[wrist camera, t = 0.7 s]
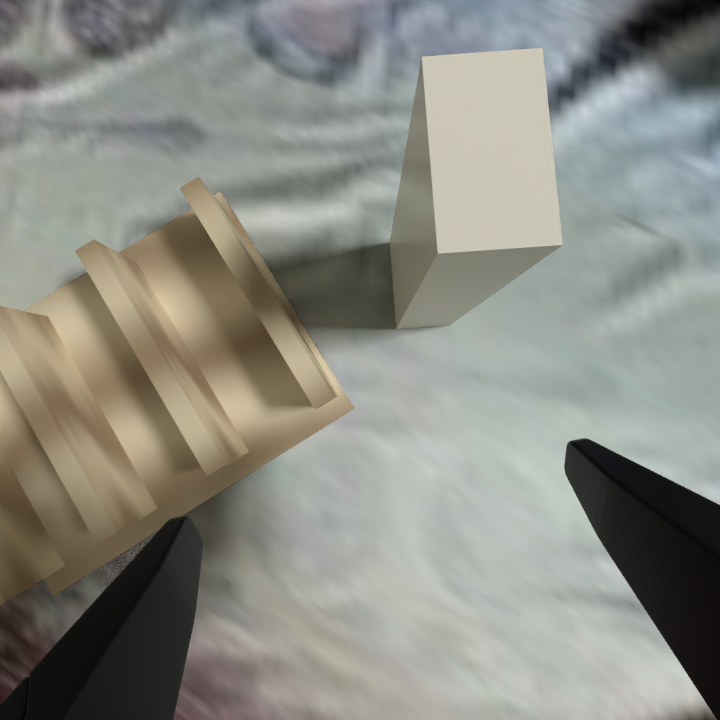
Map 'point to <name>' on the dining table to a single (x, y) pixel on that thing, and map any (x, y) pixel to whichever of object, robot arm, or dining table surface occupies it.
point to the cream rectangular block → (473, 184)
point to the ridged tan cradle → (147, 393)
